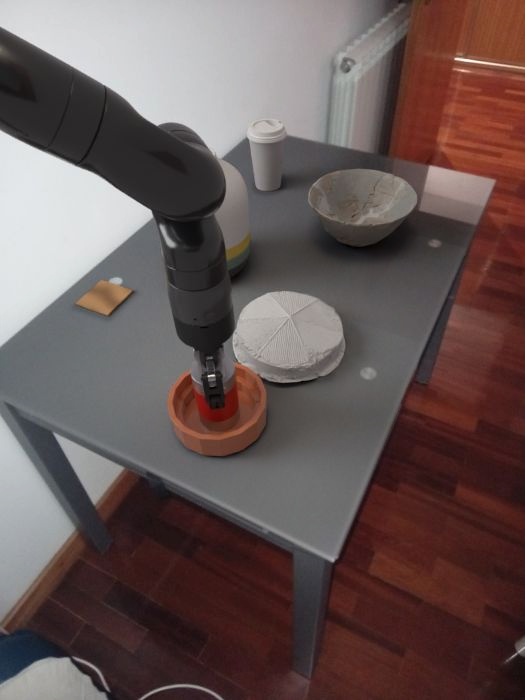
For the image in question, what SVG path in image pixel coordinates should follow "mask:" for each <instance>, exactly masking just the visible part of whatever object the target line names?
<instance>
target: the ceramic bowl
mask: <svg viewBox="0 0 525 700" xmlns="http://www.w3.org/2000/svg"><path fill="white" fill-rule="evenodd" d="M307 196H308V197H307V202H308V204H309V206H310V207H311V209H312V210H313V211H314V212H315V214H316V215H317V217H318V218H319V220H320V222H321V224H322V226H323V229H324V231H326V233H328V234H329V235H330V236H331V237H332V238H334V239H335V240H336V241H338V242H340V243H341V244H343V245H349V246H350V247H367V246H369V245H370V246H371V245H374V244H377V243H378V242H379V241H382V240H384V239H385V238H386V237H388V236H389V235H391V234H392V233H393V232H394V231H395V230H396V229H397V228H398V227H399V226H400V225H401V224H402V223H403V222H404V221H405V220H406V219H407V218H408V217H409V216H410V214H411V213H412V212H413V211H414V209H415V208H416V205H417V204H418V195H417V192H416V191H415V189H414V188H413V186H412V184H410V183H408V181H406V180H405V179H403V178H401V177H400V176H395V174H393V173H389V172H385V171H382V170H376V169H367V168H351V169H340V170H336V171H333V172H330V173H326V174H325V175H323V176H321V177H320V178H318V179H317V181H315V182H314V183H313V184H312V186H311V187H310V188H309V191H308V195H307Z"/></svg>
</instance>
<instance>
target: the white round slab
mask: <svg viewBox="0 0 525 700" xmlns="http://www.w3.org/2000/svg"><path fill="white" fill-rule="evenodd" d="M343 328H344V326H343V322H342V320H341V318H340V315H339V313H338V312H336V310H335V307H334V306H332V305H329V304H327V303H326V302H325V300H322V299H321V298H318V297H315V296H314V295H310V294H309V293H307V292H306V293H300V292H296V291H291V290H281V291H271V292H269V291H267V293H265V294H263V295H261V296H258V297H256V298H255V299H253V300H252V301H250V302H249V303H247V305H245V306H244V307H243V309H242V310H241V311H240V314H239V316H238V319H237V323H236V327H235V330H234V332H233V334H232V349H233V353H234V355H235V359H237V363H238V364H241V365H244V366H247V367H249V368H250V369H251V370H252V371H253V372H254V373H256V374H257V375H258V376H259V377H260V378H261V379H265V380H267V381H269V382H273V383H282V384H285V383H299V382H301V381H304V382H305V381H310V380H315V379H318V378H319V377H325V376H327V375H329V374H330V373H332V372H334V371H335V370H336V369H337V368H338V366H339V365H340V363H341V361H342V359H343V357H344V355H345V351H346V340H345V335H344V329H343Z"/></svg>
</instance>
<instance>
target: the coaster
mask: <svg viewBox="0 0 525 700" xmlns="http://www.w3.org/2000/svg"><path fill="white" fill-rule="evenodd" d="M133 293H134V289H130V288H127V287H125V286H122V285H120V284H115V283H113V282H109V281H107V280H103V279H101V280H100V281H98V282H97V283H96V284H95V285H94V286H93V287H92V288H91V289H89V290H88V291H87V292H86V293H85V294H84V295H83V296H82V297H81V298H79V299H78V300H77V301H76V302H75V306H78V307H80V308H83V309H86V310H89V311H92V312H95V313H97V314H100V315H104V316H106V317H109V316H111V314H112V313H113V312H114V311H116V309H117V308H119V306H120V305H121V304H123V303H124V302H125V301H126V300H127V299H128V298H129V296H131V295H132V294H133Z"/></svg>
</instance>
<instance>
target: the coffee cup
mask: <svg viewBox="0 0 525 700" xmlns="http://www.w3.org/2000/svg"><path fill="white" fill-rule="evenodd" d="M246 137H247V139H248V141H249V148H250V155H251V163H252V170H253V171H252V172H253V177H254V183H255V184H254V185H255V188H256V189H257V190H259V191H262V192H272V191H276V190H278V189H280V188H281V186H282V176H283V175H282V173H283V164H284V162H283V161H284V152H285V140H286V138H287V137H288V132H287V129H286V126H285V125H284V123H283V121H281V120H279V119H276V118H260V119H256V120H254V121H252V122H251V123H250V124H249V127H248V129H247V132H246Z"/></svg>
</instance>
